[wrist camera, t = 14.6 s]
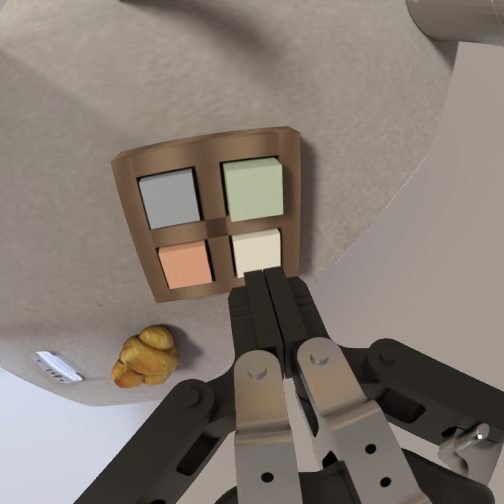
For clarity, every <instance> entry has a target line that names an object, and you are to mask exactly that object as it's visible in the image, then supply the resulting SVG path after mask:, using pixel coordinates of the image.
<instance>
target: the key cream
mask: <svg viewBox="0 0 504 504" xmlns="http://www.w3.org/2000/svg"><path fill="white" fill-rule="evenodd" d="M231 239H232V247H233V254H234V262H235V266H236V271H237V275H238V278H241V277H244V274H243V272H248V271H254V270H260V269H262V271H263V269H265V268H270V267H276V266H280V233H279V231H278V229H277V228H273V229H266V230H260V231H253V232H247V233H241V234H234V235H231Z"/></svg>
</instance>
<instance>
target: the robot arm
mask: <svg viewBox="0 0 504 504" xmlns="http://www.w3.org/2000/svg"><path fill="white" fill-rule="evenodd" d="M406 2H407V6H408V9H409V12H410V14H411V16H412V18H413V20H414V21H415V23H416V24H417V26H418V27H419V28H420V29H421V30H422V31H423V32H424V33H425V34H426V35H427V36H429V37H430V38H432V39H435V40H446V41H462V42H474V43H482V44H490V45H496V46H502V47H504V0H406ZM243 274H244V280H245V286H240V287H234V288H232V290H231V292H230V294H229V297H228V303H229V311H230V319H231V327H232V335H233V342H234V349H235V360H234V363H233V365H232V367H231V368H230V369H229V370H228V371H227V372H226V373H225V374H223V375H222V376H220V377H218V378H216V379H213V380H211V381H209V382H207V383H205V382H204V381H201V380H198V379H188V380H184V381H182V382H180V383H178V384H177V385H176V386H175V387H174V388H173V389H172V390H171V391H170V392H169V394H168V395H167V396H166V397H165V398H164V400H163V401H162V402H161V403H160V405H159V406H158V407H157V408H156V409H155V411H154V412H153V413H152V414H151V415H150V417H149V418H148V419H147V420H146V422H144V424H143V425H142V426H141V427H140V428H139V429H138V431H137V432H136V433H135V435H133V437H132V438H131V439H130V440H129V441H128V442H127V444H126V445H125V446H124V447H123V448H122V449H121V451H120V452H119V453H118V454H117V455H116V457H114V459H113V460H112V461H111V462H110V463H109V464H108V465H107V467H106V468H105V469H104V470H103V471H102V472H101V473H100V474H99V476H98V477H97V478H96V479H95V480H94V481H93V482H92V484H91V485H90V486H89V487H88V488H87V489H86V490H85V491H84V492H83V493H82V494H81V496H80V497H79V498H78V499H77V500H76V501H75V502H74V503H73V504H176V502H177V501H178V500H179V498H181V496H182V495H183V494H184V493H185V491H186V490H187V489H188V488H189V486H190V485H191V484H192V483H193V481H194V480H195V479H196V478H197V476H198V475H199V474H200V472H201V471H202V470H203V468H204V467H205V466H206V465H207V463H208V462H209V460H210V459H211V458H212V456H213V455H214V454H215V452H216V451H217V449H218V448H219V447H220V445H221V444H222V443H223V441H224V440H225V438H226V437H227V435H228V434H229V433H231V432H233V431H235V430H236V432H235V437H234V447H235V463H236V478H237V486H235V487H233V488H232V489H230V490H228V491H227V492H226V493H225V494H223V495H222V496H221V497H220V498H219V499H218V500H217V501H216V502H215V504H495V499H494V495H493V493H492V491H491V490H490V488H488V487H487V485H488V483H489V481H490V479H491V476H492V474H493V471H494V469H495V466H496V464H497V461H498V458H499V455H500V452H501V450H502V446H503V444H504V392H503V391H501V390H499V389H497V388H495V387H492V386H490V385H488V384H486V383H484V382H481V381H479V380H477V379H475V378H473V377H471V376H468V375H467V374H465V373H462V372H460V371H458V370H456V369H454V368H452V367H450V366H448V365H446V364H443V363H441V362H439V361H437V360H435V359H433V358H431V357H429V356H427V355H425V354H422V353H421V352H419V351H416V350H414V349H412V348H410V347H408V346H406V345H404V344H402V343H400V342H398V341H396V340H393V339H388V338H384V339H379V340H377V341H376V342H374V343H373V344H372V345H371V346H370V347H369V348H346V347H343V346H340V345H338V344H336V343H335V342H334V341H332V340H331V338H330V337H329V335H328V333H327V332H326V329H325V326H324V324H323V322H322V319H321V317H320V315H319V312H318V310H317V308H316V305H315V304H314V301H313V299H312V296H311V294H310V292H309V289H308V287H307V285H306V283H305V282H303V281H302V280H301V279H300V278H299V277H298V276H294V277H289V278H286V275H285V273H284V270H283V267H282V266H276V267H270V268H265V269H263V271H262V269H260V270H254V271H248V272H243ZM284 374H285V377H286V378H292V377H293V381H294V384H295V388H296V389H295V394H296V398H297V401H298V404H299V407H300V409H301V412H302V415H303V417H304V420H305V423H306V425H307V428H308V431H309V433H310V436H311V439H312V445H313V450H314V454H315V456H316V459H317V462H318V464H319V467H320V471H318V472H298V468H297V461H296V455H295V449H294V442H293V436H292V431H291V427H290V424H289V418H288V412H287V406H286V399H285V393H284V387H283V379H284ZM387 421H388V422H391V423H392V424H394V425H396V426H398V427H400V428H402V429H404V430H406V431H408V432H410V433H412V434H414V435H416V436H418V437H420V438H422V439H425V440H427V441H429V442H431V443H433V444H436V445H438V446H439V452H438V457H439V459H440V460H442V461H443V462H444V463H445V464H447V465H448V466H449V467H450V468H451V470H452V471H451V470H449V469H446V468H444V467H442V466H440V465H438V464H436V463H434V462H431V461H430V460H428V459H426V458H424V457H422V456H420V455H418V454H416V453H414V452H412V451H409V450H406V449H403V448H400V446H399V444H398V442H397V440H396V438H395V436H394V434H393V432H392V429H391V428H390V426H389V424H388V422H387Z"/></svg>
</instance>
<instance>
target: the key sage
mask: <svg viewBox="0 0 504 504" xmlns="http://www.w3.org/2000/svg"><path fill="white" fill-rule="evenodd" d="M223 170H224V178H225V186H226V195H227V203H228V210H229V214H230V217H231V221H232V222H235V221H241V220H248V219H254V218H261V217H268V216H275V215H282V214H283V187H282V165H281V164H280V163H279V162H278V161H277V160H276V159H275V158H274V157H265V158H255V159H247V160H239V161H231V162H224V163H223Z"/></svg>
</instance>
